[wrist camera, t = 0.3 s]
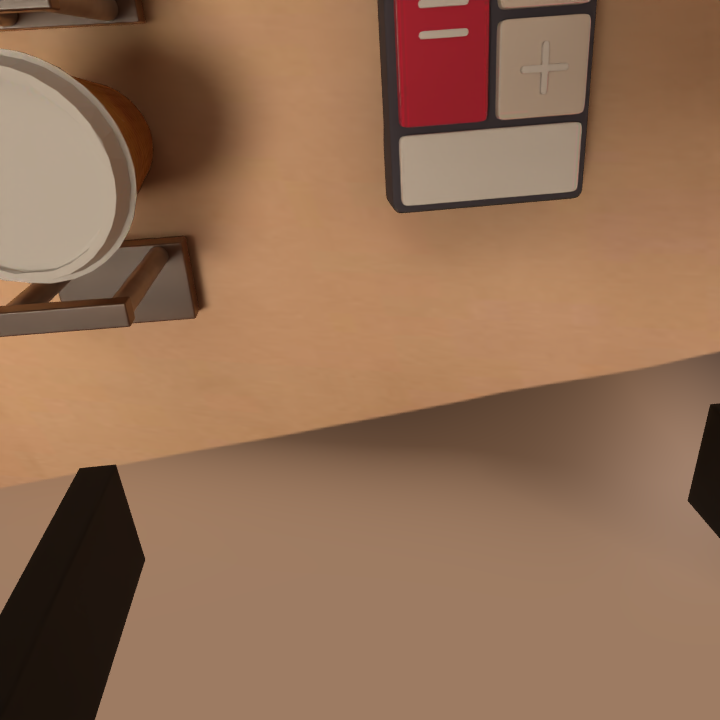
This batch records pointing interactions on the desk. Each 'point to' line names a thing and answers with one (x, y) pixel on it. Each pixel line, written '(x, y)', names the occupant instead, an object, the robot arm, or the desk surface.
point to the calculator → (484, 100)
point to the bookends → (134, 257)
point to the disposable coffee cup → (64, 170)
